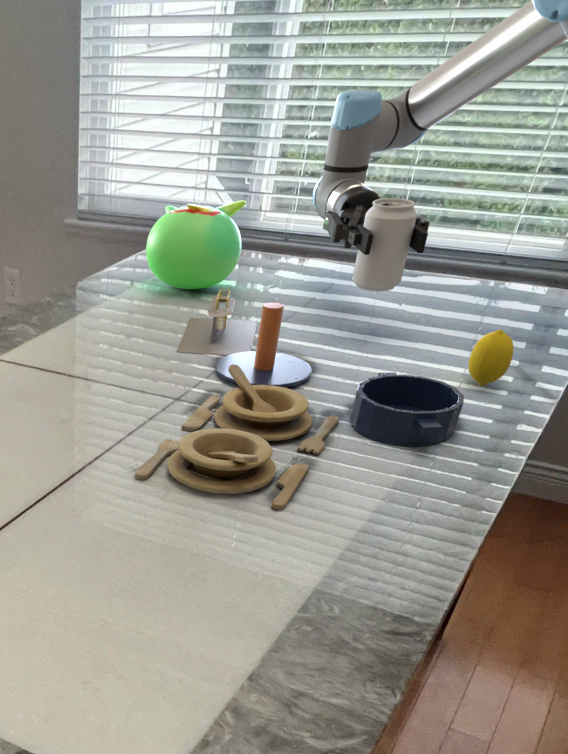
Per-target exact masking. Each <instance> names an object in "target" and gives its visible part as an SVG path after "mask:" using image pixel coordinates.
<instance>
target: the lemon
mask: <svg viewBox="0 0 568 754" xmlns="http://www.w3.org/2000/svg"><path fill="white" fill-rule="evenodd" d="M513 357H514V342H513V340H512V338H511V337H510V336H509V335H508V333H506V332H504V330H503V329H496V330H495V331H490V332H488V333H486V334H484V335H482V337H481V338H480V339H479V340H478V341H477V342H476V343H475V345H474V346H473V348H472V350H471V353H470V355H469V359H468V366H467V368H468V373H469V375H470V377H471V378H472V379H473V380H474V381H475V382H477V384H478V386H479V387H484V386H487V385H488V384H491V383H494V382H496V381H498V380H499V379H501V378H502V377H503V376H504V375H505V374H506V372H507V371H508V369H509V367H510V366H511V363H512V360H513Z"/></svg>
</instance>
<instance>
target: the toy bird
mask: <svg viewBox="0 0 568 754" xmlns="http://www.w3.org/2000/svg"><path fill="white" fill-rule="evenodd" d="M246 204H247V201H246V200H238V201H237V200H236V201H233V202H230V203H227V204H224V205H221V206H218V207H214V206H210V205H198V204H195V203H194V204H193V203H186V205H182V206H180V207H176V206H174V205H166V206H165V208H164V209H165V213H164V214H163V215H162V216H161V217H159V218H158V219H157V220H156V221H155V223H154V224H153V226H152V227H151V229H150V231H149V234H148V236H147V239H146V245H145V255H146V256H145V257H146V260H147V261H146V262H147V264H148V267H149V269H150V271H151V272H152V273H153V275H154V276H155V277H156V278H157V279H158V280H160V281H161V282H163V283H164V284H167V285H169V286H171V287H173V288H177V289H182V290H202V289H207V288H211V287H214V286H216V285H217V284H220V283H222V282H223V281H224V280H225V279H227V278H228V277H229V276H230V274H232V273H233V271H234V270H235V268H236V267H237V264H238V262H239V261H240V257H241V253H242V244H243V243H242V236H241V232H240V229H239V227H238V225H237V223H236V222H235V221H234V219H233V218H231V217H233V216H234V215H235V214H237V213H238V212H239V211H240V210H242V209H243V208H244V207H245V206H246Z"/></svg>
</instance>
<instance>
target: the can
mask: <svg viewBox="0 0 568 754" xmlns="http://www.w3.org/2000/svg"><path fill="white" fill-rule="evenodd" d="M372 203H373V206H372V207H371V208H370V209H369V210H368V211H367V212H366V215H365V220H364V225H363V226H364V227H365V228H366V229H367V230H368V231H370V232H371V233H372V234H373V235H374V236H373V241H372V245H371V250H370V254H369V255H364V254H363V253H362V252H361V251H360V250H359V249H358V248H357V253H356V259H355V262H354V263H355V265H354V268H353V273H352V279H351V280H352V282H353V283H354V284H355V287H357V288H358V289H361V290H363V291H369V292H370V291H371V292H387V291H391V290H393V289H394V288H395V287H397V286H398V285H399V284H401V282H402V278H403V275H404V270H405V267H406V262H407V258H408V254H409V250H410V242H411V238H412V234H413V230H414V226H415V222H416V217H417V216H418V213H417V211H416V210H415V205H416V202H415V201H414V200H410V199H406V198H399V197H398V198H397V197H386V198H381V199H377V200H374V201H373V202H372Z"/></svg>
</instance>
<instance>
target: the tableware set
mask: <svg viewBox="0 0 568 754" xmlns="http://www.w3.org/2000/svg"><path fill="white" fill-rule="evenodd" d="M228 371H229V373H230V375H231V376H232V377H233V379H234V380H235V381H236V382H237V384H236V385H238V386H239V387H236V388H232V389H230V390H229V391H227V392H226V393H225V394H224V395H223V397H222V405H221V406H218V408H217V409H216V410H215V412H214V413H213V412H212V411H211V410H212V409H213V408H215V406H217V405H219V403H220V399H221V398H220V395H219V396H218V395H211V396H208V398H207V399H206V400H205V401H204V402H203V403H202V404H201V405H200V406H199V407H197V409H196V410H195V411H194V412H193V413H192V414H191V415H190V416H189V417H188V418H187V419H186V420H185V421H184V422H183V423H182V424H181V430H183V431H187V432H189V433H187V434H185V435H184V436H183V437H181V438H180V439H179V440H176V439H173V440H172V439H171V438H164V440H162V441H161V442H160V443H159V444H158V445H157V450H158V451H157V452H156V453H154V454H153V455H152V456H151V457H150V458H149V459H147V460H146V461H145V462H144V463H143V464H142V465H140V466H139V467H138V468H137V469H136V470H135V472H134V478H135V479H137V480H141V481H142V480H143V481H144V480H148V479H149V477H150V476H152V474H153V473H154V472H155V471H156V469H157V468H158V467H159V466H160V464H161V463H162V462H163V461H164V460H165V459H166V458H167V457H168V456H169V458H168V460H167V468H168V471H169V472H168V473H169V474H170V475H171V476H172V477H173V478H174V479H175V480H177V481H178V482H179V483H181V484H182V485H185V486H186V487H189V488H191V489H194V490H199V491H202V492H206V493H211V494H222V495H231V494H232V495H233V494H234V495H235V494H246V493H251V492H255V491H257V490H259V489H263V488H264V487H266V486H267V485H269V484H270V483H271V482H272V481H273V479H274V478H275V475H276V470H277V468H276V464H275V462H274V461H273V459H272V458H271V457H272V455H273V447H272V446H271V445H270V443H269V442H281V441H287V440H291V439H295V438H297V437H300V436H303V435H304V434H306V433H307V432H309V430H310V429H311V428H312V425H313V418H312V416H311V414H310V413H309V412H308V410H309V406H310V404H309V403H310V402H309V401H308V399H307V398H306V396H304V395H303V394H301V393H300V392H298V391H296V390H293V389H290V388H288V387H278V386H272V385H251V383H250V382H249V380H248V379H247V377H246V376H245V374H244V373H243V371H242V370H241V368H240V367H239V366H238V365H234V364H233V365H230V366H229V369H228ZM213 414H214V415H213ZM213 416H214V421H215V423H216V425H217V426H218V427H219V428H204V429H200V428H202V427H203V426H204V425H205V424H206V423H207V422H208V421H209V420H210V419H211V418H212V417H213ZM339 421H340V418H339V417H338V416H334V415H328V416H327V417H326V418H325V419H324V421H323V422H322V423H321V424H320V427H319V428H318V429H317V430H316V432H315V434H314V436H312V437H310V438H306V439H304V440H302V441H301V443H300V444H298V446H297V448H296V449H297V451H299V452H304V451H305V453H307V454H310V453H312V454H313V455H316V456H319V454H321V452H323V450H324V449H325V446H326V445H325V442H324V441H323V440H324V439H325V438H327V437H328V435H329V434H331V432H332V431H333V430H334V429H335V428H336V427H337V425H338V424H339ZM309 468H310V465H308V464H305V463H294V464H292V465H291V466H289V467H288V468H287V469H286V470H284V472H283V473H282V475H281V476H280V478H279V479H278V481H277V482H276V483H277V486H278V487H279V488H280V489H282V490H281V491H280V492H279V493H278V494H277V496H275V498H274V499H273V500H272V502H271V508H272V509H273V510H275V511H276V510H277V511H282V510H284V509H285V508H286V506H287V505H288V503H289V502H290V500H291V498H292V497H293V495H294V494H295V492H296V491H297V489H298V487H299V486H300V484H301V483H302V481H303V480H304V478H305V477H306V476H307V473H308V472H309Z"/></svg>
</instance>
